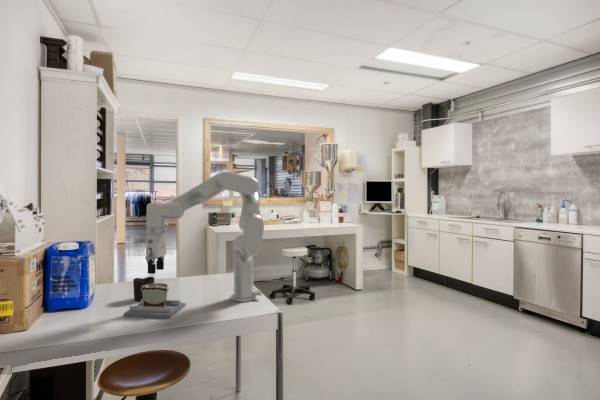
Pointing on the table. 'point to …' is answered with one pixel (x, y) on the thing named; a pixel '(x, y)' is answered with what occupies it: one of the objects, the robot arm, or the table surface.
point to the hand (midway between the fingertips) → (155, 271)
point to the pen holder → (138, 284)
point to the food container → (155, 294)
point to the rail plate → (155, 310)
